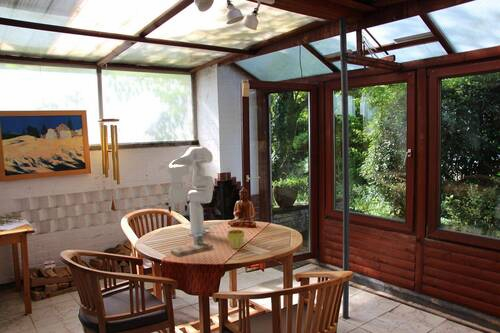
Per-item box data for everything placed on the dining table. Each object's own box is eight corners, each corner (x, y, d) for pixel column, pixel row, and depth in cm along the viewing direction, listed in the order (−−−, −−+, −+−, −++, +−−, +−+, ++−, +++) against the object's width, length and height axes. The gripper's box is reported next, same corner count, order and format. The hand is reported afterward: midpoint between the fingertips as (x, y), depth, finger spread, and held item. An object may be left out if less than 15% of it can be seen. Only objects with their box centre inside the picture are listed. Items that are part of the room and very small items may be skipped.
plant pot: (238, 250, 247) (238, 234, 247) (224, 248, 253) (224, 232, 252) (247, 245, 256) (247, 230, 255) (234, 244, 262) (233, 229, 261)
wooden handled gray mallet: (200, 244, 263) (200, 234, 263) (211, 248, 253) (210, 237, 252) (194, 246, 260) (193, 235, 260) (204, 250, 250) (203, 239, 249)
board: (205, 245, 260) (205, 242, 260) (213, 248, 253) (212, 245, 253) (171, 253, 246) (171, 249, 246) (177, 256, 239) (177, 252, 239)
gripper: (189, 183, 265) (191, 209, 266) (162, 185, 261) (164, 211, 262) (191, 185, 258) (192, 211, 259) (163, 186, 254) (164, 213, 255)
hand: (178, 211), depth 261 cm, fingers open, 9 cm apart
